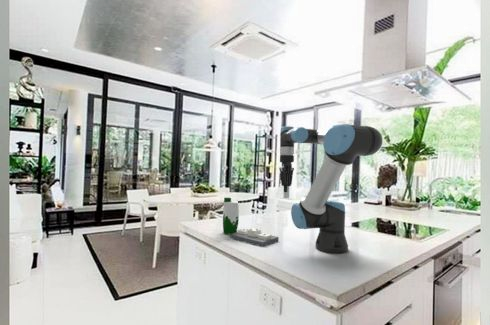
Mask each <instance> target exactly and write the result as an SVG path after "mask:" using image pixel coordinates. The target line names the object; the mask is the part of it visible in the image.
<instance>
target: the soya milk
mask: <svg viewBox="0 0 490 325" xmlns="http://www.w3.org/2000/svg"><path fill="white" fill-rule="evenodd" d="M223 198H224V199H223V207H222V209H223V210H222V230H223V234H227V235H230V234H232V233H236V232H238V227H239V213H240V211H239V201H238V200H232V198H231V197H223Z"/></svg>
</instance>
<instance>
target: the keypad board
mask: <svg viewBox="0 0 490 325" xmlns="http://www.w3.org/2000/svg"><path fill="white" fill-rule="evenodd" d="M262 233H263V232H262ZM262 233H261V234H262ZM270 235H271V239H268V240H263V239H259V238H258V237H251V236H247V234H246V235H242V234H238V231H237V232H236V233H232V234H229V239H233V240H237V241H240V242H244V243H249V244H252V245H255V246H260V247H265V246H267V245H270V244H273V243H276V242H279V236H275V235H272V234H270Z"/></svg>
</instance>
